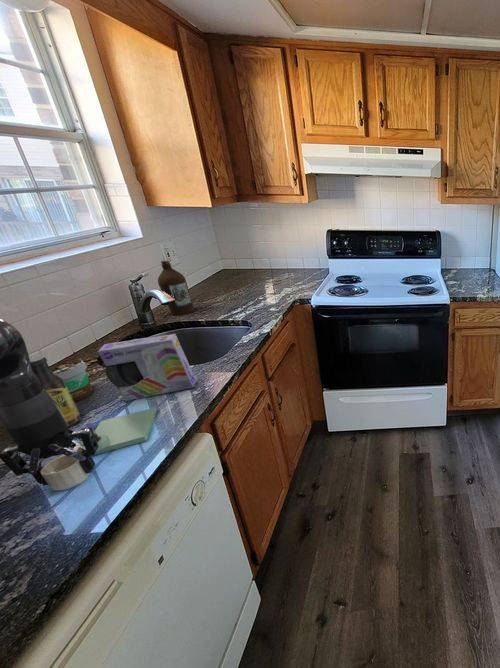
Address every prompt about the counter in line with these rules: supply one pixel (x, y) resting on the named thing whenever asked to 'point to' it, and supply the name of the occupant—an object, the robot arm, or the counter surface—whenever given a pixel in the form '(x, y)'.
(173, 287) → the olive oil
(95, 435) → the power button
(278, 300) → the counter surface
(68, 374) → the food container
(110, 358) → the cake pan box
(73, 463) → the bowl
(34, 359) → the sauce bottle
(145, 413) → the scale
